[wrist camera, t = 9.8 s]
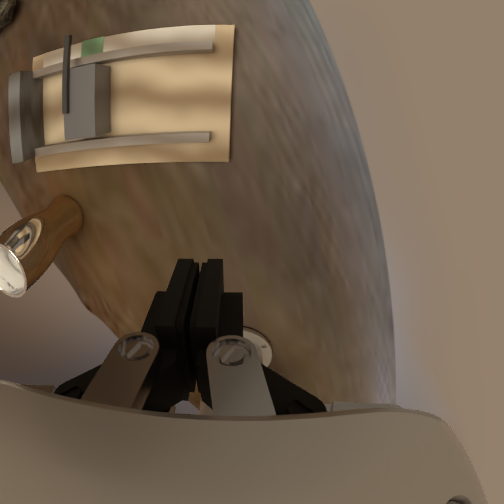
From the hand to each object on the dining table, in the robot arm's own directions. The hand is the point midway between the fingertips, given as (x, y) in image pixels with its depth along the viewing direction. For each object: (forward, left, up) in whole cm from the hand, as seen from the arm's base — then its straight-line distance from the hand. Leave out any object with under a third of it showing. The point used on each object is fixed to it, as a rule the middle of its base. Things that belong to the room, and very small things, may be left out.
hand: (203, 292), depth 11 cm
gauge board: (+8, +13, -26) cm, 30 cm away
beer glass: (-7, +23, -26) cm, 35 cm away
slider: (+10, +16, -24) cm, 30 cm away
